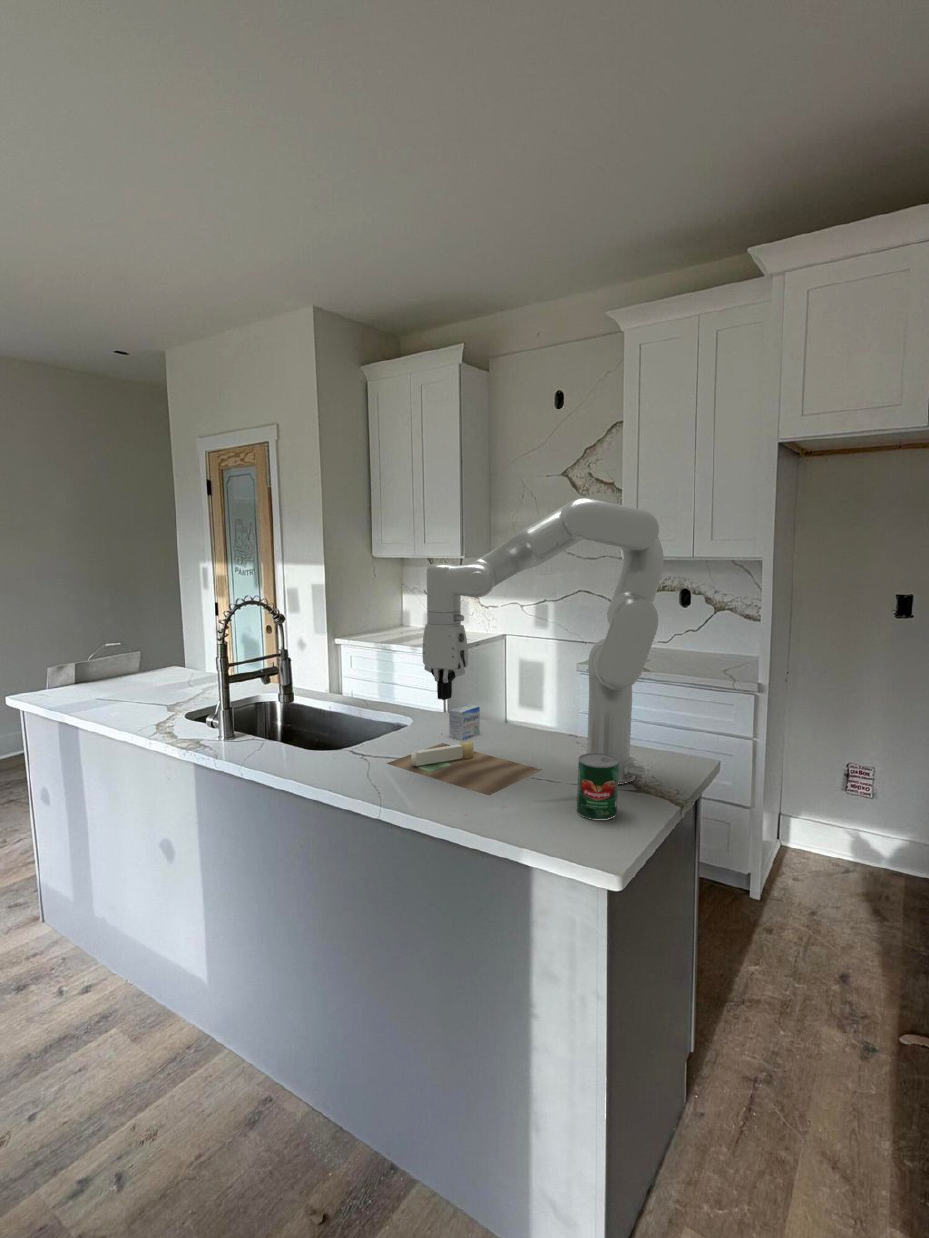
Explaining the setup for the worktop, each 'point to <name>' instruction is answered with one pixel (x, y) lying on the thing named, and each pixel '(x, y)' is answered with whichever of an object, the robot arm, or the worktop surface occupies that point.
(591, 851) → the worktop surface
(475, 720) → the medicine box
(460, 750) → the pointer
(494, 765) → the dial board
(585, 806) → the canned tomato
